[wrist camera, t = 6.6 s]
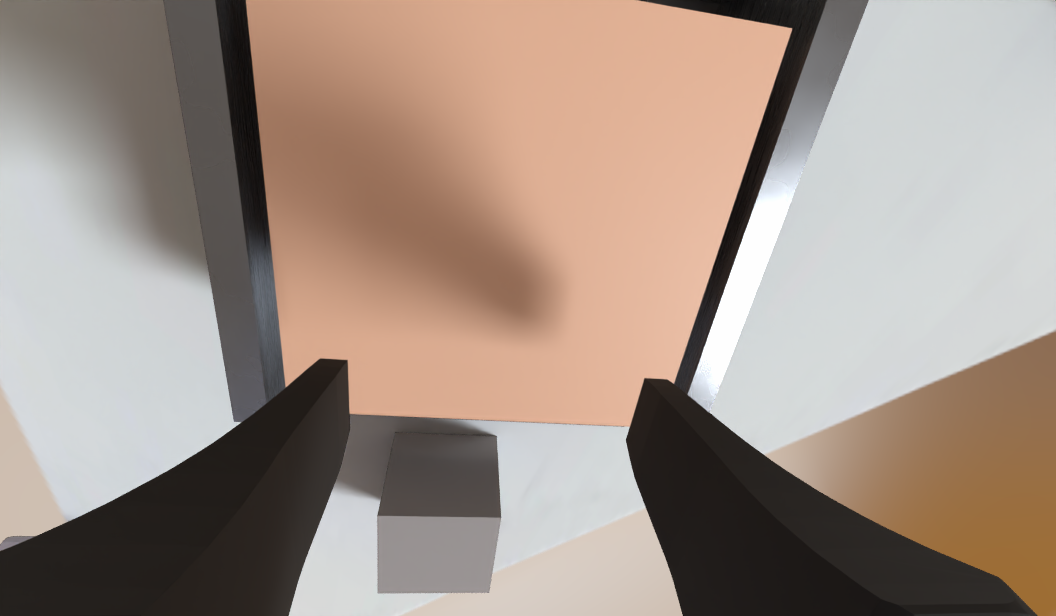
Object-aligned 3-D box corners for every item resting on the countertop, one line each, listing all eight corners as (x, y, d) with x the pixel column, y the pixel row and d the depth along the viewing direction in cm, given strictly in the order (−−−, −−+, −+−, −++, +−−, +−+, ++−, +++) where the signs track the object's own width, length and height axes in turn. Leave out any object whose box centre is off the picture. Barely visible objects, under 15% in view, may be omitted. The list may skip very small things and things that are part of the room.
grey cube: (394, 502, 26) (377, 593, 22) (395, 431, 24) (377, 516, 20) (486, 504, 27) (489, 592, 23) (496, 434, 25) (501, 517, 20)
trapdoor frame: (307, 403, 23) (250, 522, 17) (265, -118, 14) (124, -232, 8) (621, 418, 25) (664, 528, 19) (747, -24, 16) (893, -64, 11)
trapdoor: (298, 391, 16) (276, 433, 14) (243, -229, 9) (189, -293, 8) (649, 409, 18) (669, 448, 16) (811, -101, 11) (873, -129, 9)
